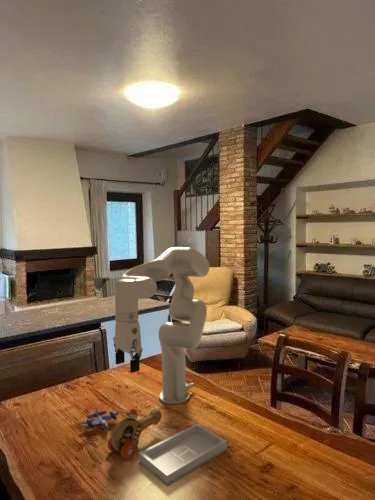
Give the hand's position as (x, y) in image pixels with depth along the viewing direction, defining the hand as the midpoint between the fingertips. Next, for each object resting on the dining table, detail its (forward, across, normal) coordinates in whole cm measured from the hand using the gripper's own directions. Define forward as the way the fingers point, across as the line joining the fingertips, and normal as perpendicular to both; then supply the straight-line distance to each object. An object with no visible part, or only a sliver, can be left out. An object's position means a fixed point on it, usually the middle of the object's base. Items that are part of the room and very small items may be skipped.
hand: (127, 367), depth 126 cm
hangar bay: (+25, -19, -9) cm, 32 cm away
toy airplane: (+25, +12, +3) cm, 28 cm away
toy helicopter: (+25, -5, 0) cm, 25 cm away
